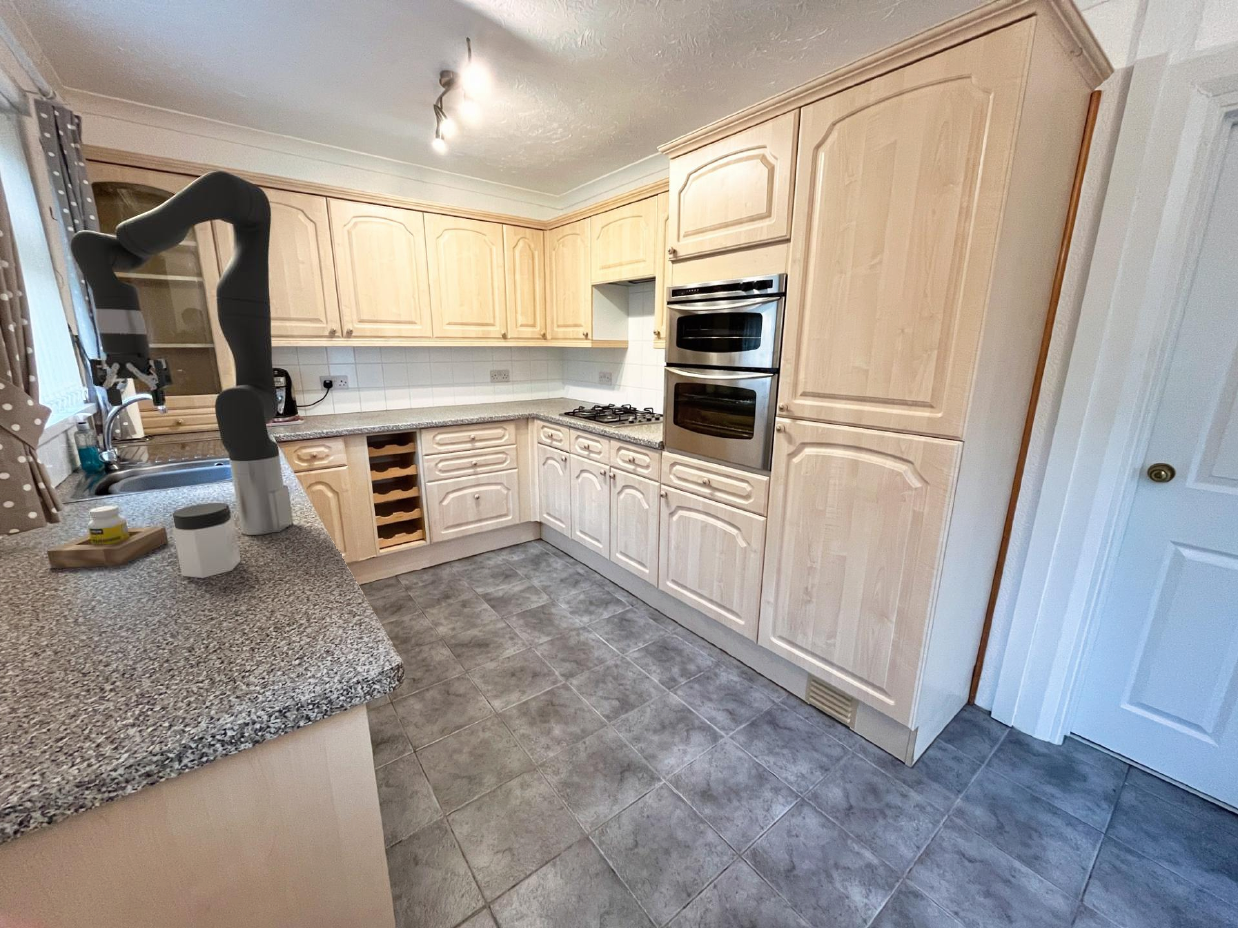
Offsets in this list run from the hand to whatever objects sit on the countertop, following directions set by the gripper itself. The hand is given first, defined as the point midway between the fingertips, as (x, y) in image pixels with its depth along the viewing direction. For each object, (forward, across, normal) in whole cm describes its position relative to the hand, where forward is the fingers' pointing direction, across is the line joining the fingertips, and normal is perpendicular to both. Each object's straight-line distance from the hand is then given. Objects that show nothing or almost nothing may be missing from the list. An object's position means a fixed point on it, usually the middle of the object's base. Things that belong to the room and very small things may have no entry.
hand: (138, 405), depth 112 cm
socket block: (+28, -4, +19) cm, 34 cm away
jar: (+28, -28, +28) cm, 49 cm away
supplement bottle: (+28, -4, +19) cm, 34 cm away
